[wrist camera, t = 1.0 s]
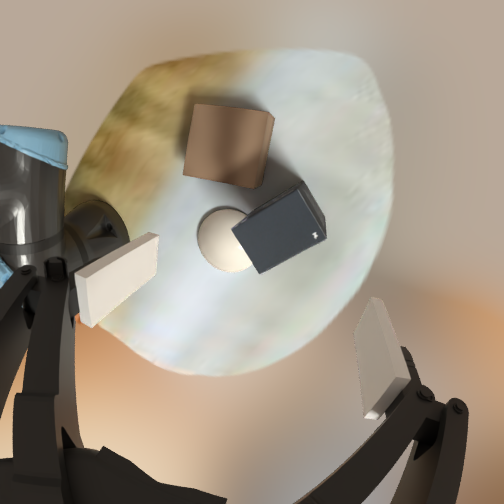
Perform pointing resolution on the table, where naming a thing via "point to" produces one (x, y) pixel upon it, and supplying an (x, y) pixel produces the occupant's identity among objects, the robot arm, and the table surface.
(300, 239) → the box
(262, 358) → the table surface
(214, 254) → the coaster
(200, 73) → the table surface
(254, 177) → the block
